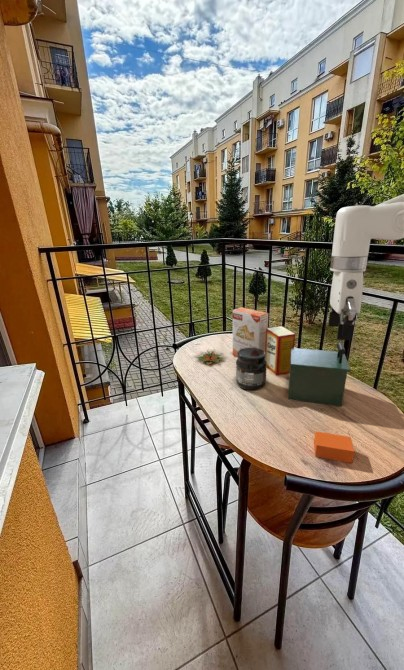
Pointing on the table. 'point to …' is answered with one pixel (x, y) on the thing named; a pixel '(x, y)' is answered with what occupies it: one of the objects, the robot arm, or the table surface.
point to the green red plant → (210, 358)
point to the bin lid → (320, 359)
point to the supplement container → (251, 368)
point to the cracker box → (249, 329)
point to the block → (333, 447)
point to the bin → (316, 385)
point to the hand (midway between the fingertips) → (338, 332)
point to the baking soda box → (279, 349)
